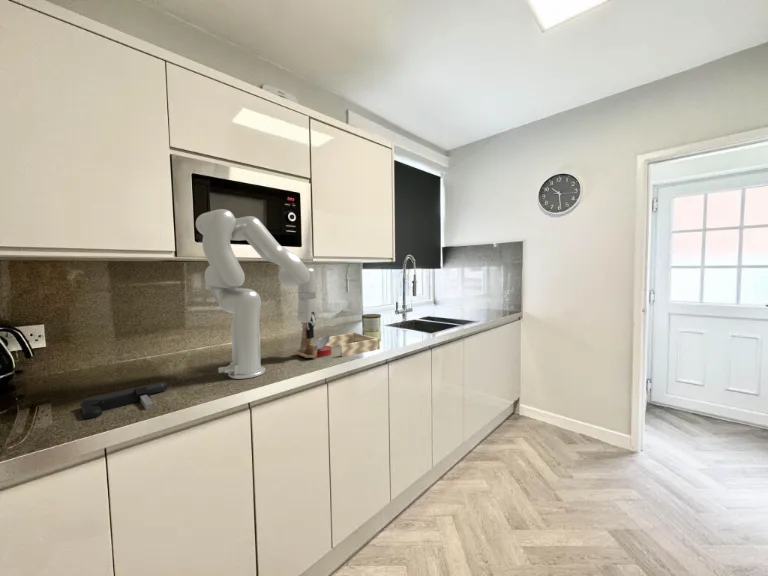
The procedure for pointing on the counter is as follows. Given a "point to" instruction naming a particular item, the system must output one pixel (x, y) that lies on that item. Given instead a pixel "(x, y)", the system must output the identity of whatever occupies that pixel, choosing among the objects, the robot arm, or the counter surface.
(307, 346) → the upright wooden block
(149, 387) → the door handle
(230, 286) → the robot arm
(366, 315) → the coffee can
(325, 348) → the canned food
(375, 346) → the box
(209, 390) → the counter surface
